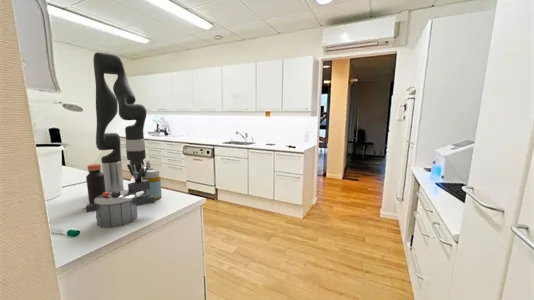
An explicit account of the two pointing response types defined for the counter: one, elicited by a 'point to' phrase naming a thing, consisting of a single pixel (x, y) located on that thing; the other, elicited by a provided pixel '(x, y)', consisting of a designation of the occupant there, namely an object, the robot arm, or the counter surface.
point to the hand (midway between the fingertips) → (138, 185)
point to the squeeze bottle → (145, 174)
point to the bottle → (154, 183)
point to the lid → (122, 194)
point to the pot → (118, 212)
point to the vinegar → (95, 182)
